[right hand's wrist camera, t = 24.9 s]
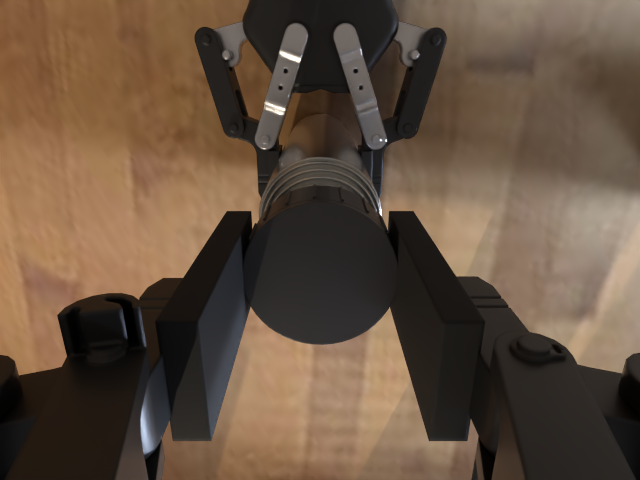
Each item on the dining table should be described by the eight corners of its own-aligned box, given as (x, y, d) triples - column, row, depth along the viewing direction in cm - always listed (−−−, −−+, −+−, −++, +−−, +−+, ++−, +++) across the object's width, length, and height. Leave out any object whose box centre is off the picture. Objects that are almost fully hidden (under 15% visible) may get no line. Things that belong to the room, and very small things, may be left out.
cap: (253, 176, 13) (242, 193, 12) (401, 191, 14) (413, 210, 12) (246, 306, 15) (236, 339, 13) (379, 318, 15) (387, 351, 13)
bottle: (291, 110, 33) (243, 177, 12) (356, 117, 33) (415, 197, 13) (285, 174, 35) (235, 327, 14) (347, 181, 35) (386, 342, 14)
